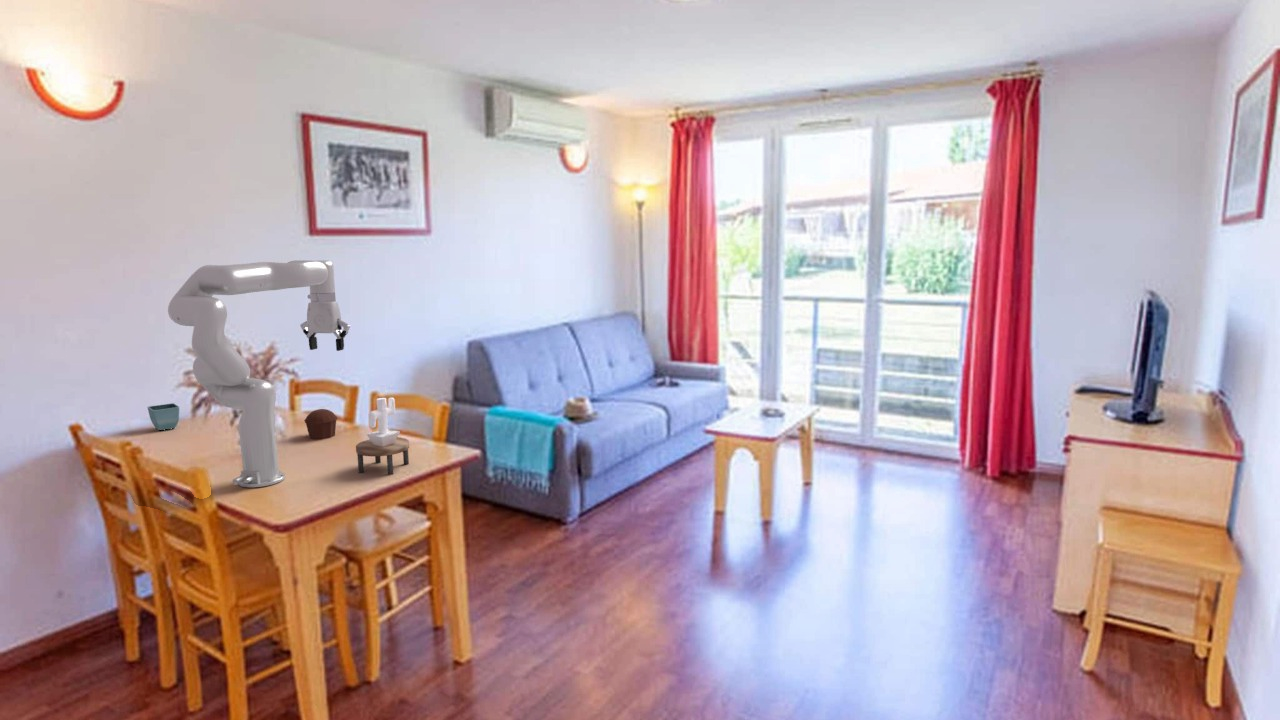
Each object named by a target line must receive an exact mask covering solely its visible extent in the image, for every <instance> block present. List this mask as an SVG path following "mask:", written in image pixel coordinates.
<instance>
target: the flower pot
mask: <svg viewBox="0 0 1280 720" xmlns="http://www.w3.org/2000/svg"><path fill="white" fill-rule="evenodd" d="M147 412H148V416H149V418H150V421H151V423H152V425H153V426H154V428H155V429H156V428H157V429H156V430H158V431H159V430H164V429H170V430H172V429H171V428H175V427H176V428H177V426H178V423H179V421H180V405H177V404H176V403H174V402H172V403H165V404H157V405H150V406H147ZM176 428H175V429H176ZM164 431H165V430H164Z"/></svg>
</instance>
